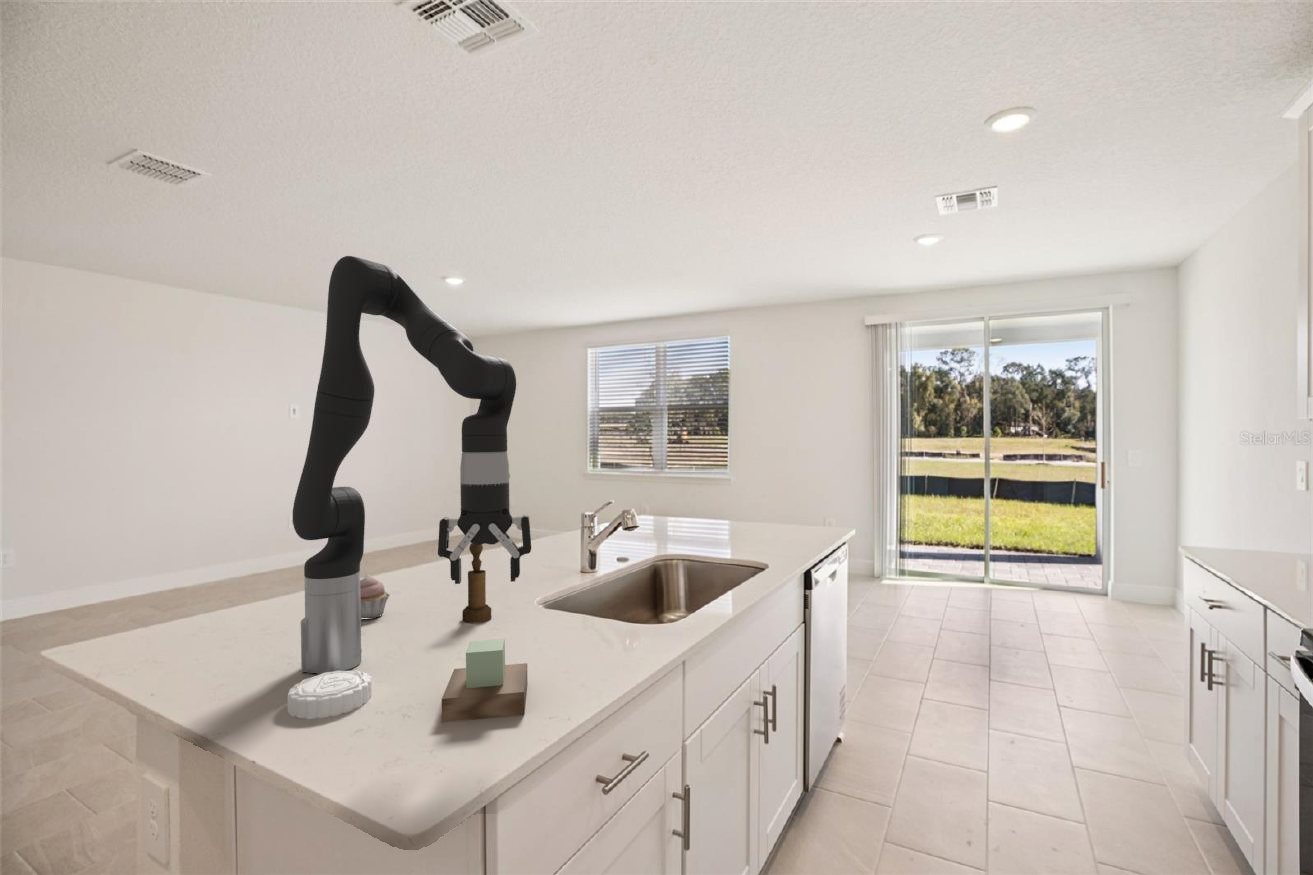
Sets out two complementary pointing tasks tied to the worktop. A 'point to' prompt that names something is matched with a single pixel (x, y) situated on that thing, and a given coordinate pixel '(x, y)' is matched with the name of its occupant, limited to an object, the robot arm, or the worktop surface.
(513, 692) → the walnut block
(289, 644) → the worktop surface
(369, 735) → the worktop surface
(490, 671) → the sage block
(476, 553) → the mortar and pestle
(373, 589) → the cupcake
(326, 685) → the mooncake
